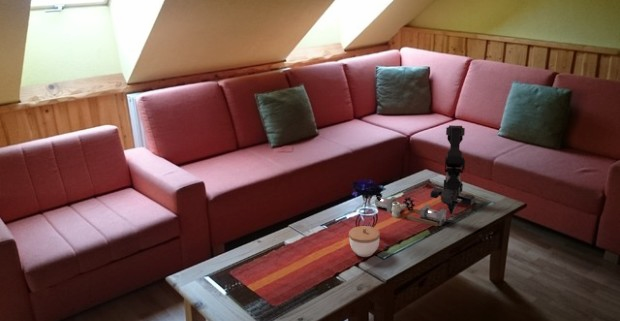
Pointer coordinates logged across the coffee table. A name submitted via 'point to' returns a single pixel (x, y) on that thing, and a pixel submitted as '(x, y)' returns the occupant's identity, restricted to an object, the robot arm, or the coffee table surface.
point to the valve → (401, 207)
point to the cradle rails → (421, 219)
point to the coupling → (433, 214)
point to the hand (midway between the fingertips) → (451, 213)
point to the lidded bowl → (364, 240)
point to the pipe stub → (385, 203)
